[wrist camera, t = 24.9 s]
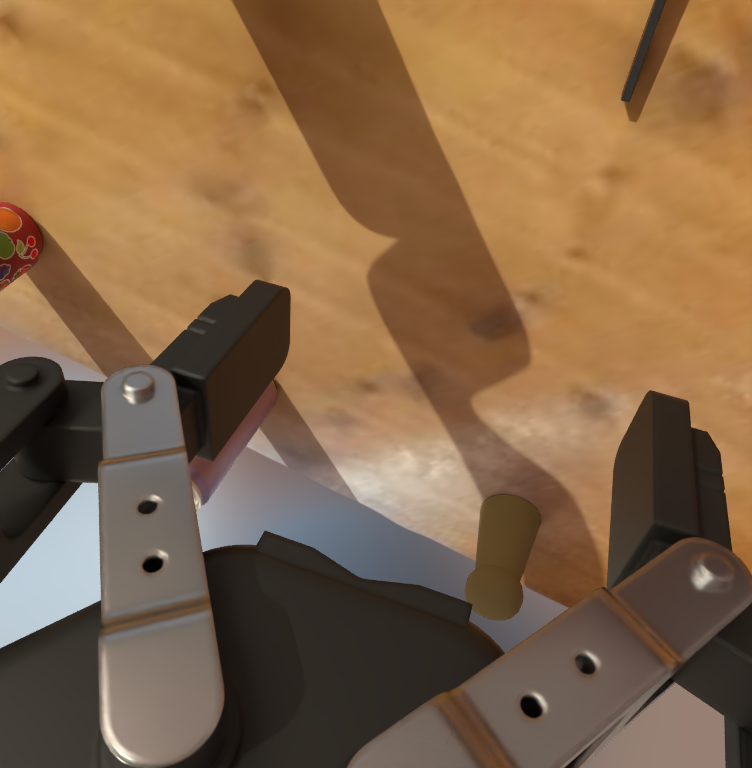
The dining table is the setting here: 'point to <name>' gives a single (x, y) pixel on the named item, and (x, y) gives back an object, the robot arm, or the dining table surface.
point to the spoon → (642, 49)
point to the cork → (501, 556)
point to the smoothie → (17, 243)
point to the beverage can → (229, 450)
